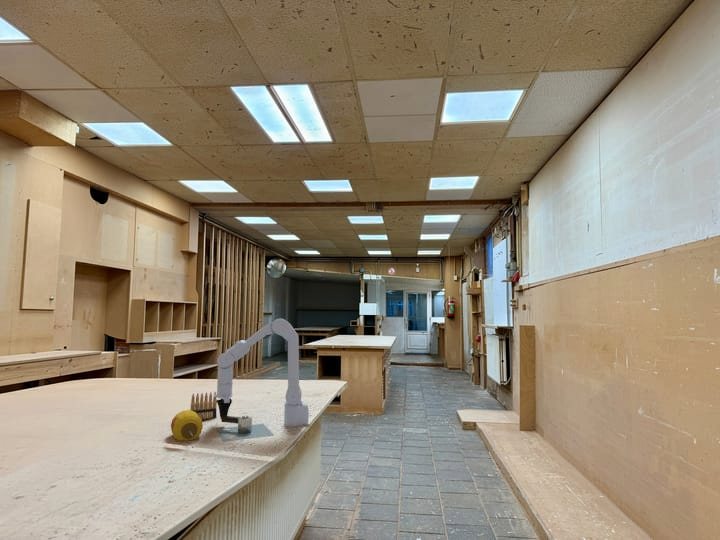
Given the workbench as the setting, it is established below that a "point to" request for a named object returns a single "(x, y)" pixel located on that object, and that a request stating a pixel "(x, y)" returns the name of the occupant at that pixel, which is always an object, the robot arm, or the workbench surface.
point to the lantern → (186, 425)
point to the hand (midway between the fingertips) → (223, 418)
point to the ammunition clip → (207, 409)
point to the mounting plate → (233, 433)
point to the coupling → (239, 422)
